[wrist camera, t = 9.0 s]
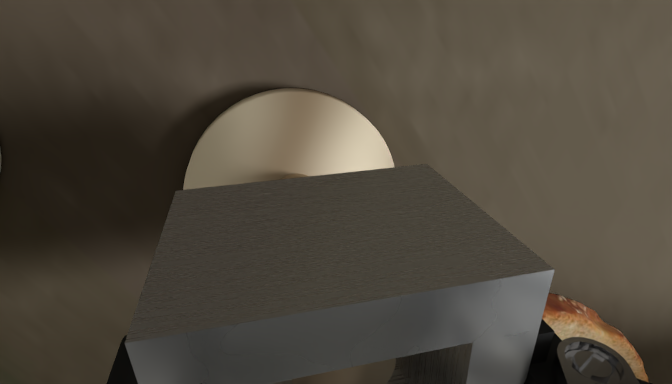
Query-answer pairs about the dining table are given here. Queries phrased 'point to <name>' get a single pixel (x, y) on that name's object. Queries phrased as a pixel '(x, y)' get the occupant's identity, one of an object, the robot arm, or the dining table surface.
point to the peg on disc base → (291, 162)
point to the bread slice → (589, 329)
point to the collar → (337, 284)
